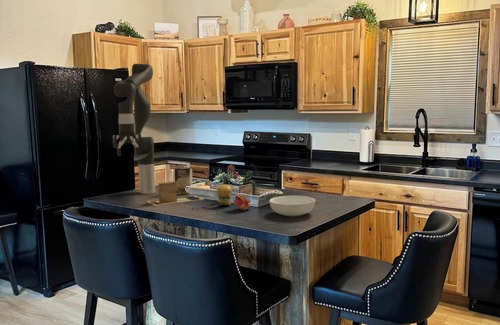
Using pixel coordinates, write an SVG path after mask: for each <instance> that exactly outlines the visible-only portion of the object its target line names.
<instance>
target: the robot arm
mask: <svg viewBox="0 0 500 325" xmlns="http://www.w3.org/2000/svg"><path fill="white" fill-rule="evenodd" d="M153 76H154V69H153V66H152V65H151V64H147V63H133V64H132V67H131V74H130V75H129V76H127V78H126V79H123V80H120V81H118V82H116V83H115V84H114V87H113V93H114V95H115V96H116V97H119V98H126V100H124V101H121V102H118V132H119V134H118V135H116V134H114V135H112V146H113V148H115V149H116V152H117V156H119V157H121V156H122V149H121V147H122V146H123V145H124V144H132V145H133V146H134V155H136V156H137V155H139V154H140V153H141V154H143V153H147V155H145V156H144V157H141V158H139V159H138V160H137V165H138V166H137V167H138V186H139V187H138V188H139V189H138V190H139V191H138V192H139V194H142V195H143V194H144V195H149V194H155V193H156V177H155V176H156V175H155V154H154V153H155V143H154V142H155V141H154V137H152V136H142V132H143V130H144V129H143V128H144V127H145V125H146V124H147V122H148V121H149V120H150V117H151V103H150V100H149V99H148V97H147V96H146V94H145V92H144V91H143V89H142V86H141V85H143V84H144V83H145V84H146V83H147V82H149V81H151V80H152V78H153ZM118 139H119V142H118ZM117 142H118V143H117Z"/></svg>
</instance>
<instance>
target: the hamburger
mask: <svg viewBox="0 0 500 325" xmlns="http://www.w3.org/2000/svg"><path fill="white" fill-rule="evenodd" d="M232 192H233V189H232V187H231V186H230V185H228V184H224V183H223V182H222V183H220V185H219V187H217V190H216V193H217V197H218V201H217V202H218V204H219V205H220V206H221V205H222V206H231V204H232V201H231V200H232V195H231V194H232Z"/></svg>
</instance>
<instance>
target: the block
mask: <svg viewBox="0 0 500 325" xmlns="http://www.w3.org/2000/svg"><path fill="white" fill-rule="evenodd" d="M157 184H158V185H157V186H158V187H157V188H158V199H159V202H160V203H162V204H163V203H171V202H177V197H178V194H177V183H176V182H175V181H174V180H173V181H164V182H158V183H157ZM160 203H159V204H160Z"/></svg>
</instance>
